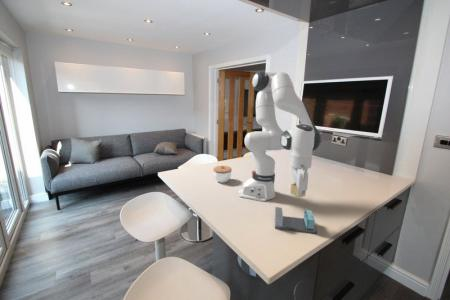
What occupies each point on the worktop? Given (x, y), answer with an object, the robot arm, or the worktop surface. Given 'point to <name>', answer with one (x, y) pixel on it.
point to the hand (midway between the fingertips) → (297, 191)
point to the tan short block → (294, 189)
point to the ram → (309, 219)
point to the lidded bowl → (222, 173)
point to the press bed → (291, 223)
